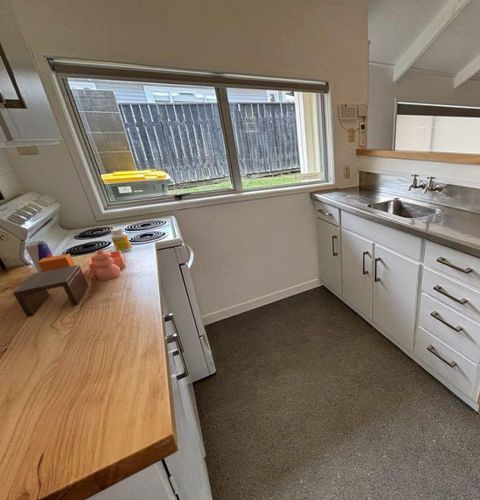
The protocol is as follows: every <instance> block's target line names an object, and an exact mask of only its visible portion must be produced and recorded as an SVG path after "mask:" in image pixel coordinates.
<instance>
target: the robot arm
mask: <svg viewBox="0 0 480 500" xmlns="http://www.w3.org/2000/svg"><path fill="white" fill-rule="evenodd" d="M5 200H6V197H5V196H4V194H3V192H2V190H1V189H0V201H5Z"/></svg>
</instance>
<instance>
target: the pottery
mask: <svg viewBox="0 0 480 500" xmlns="http://www.w3.org/2000/svg"><path fill="white" fill-rule="evenodd" d="M124 261H125V258H124V256H123V252H121V250H119V251H116V250H115V251H110V252H108V251H104V249H98V250H96V253H95V254H94V255H92V256H89V258H88V267H89V269H90V272H91V274H92V275H93V276H96V277H97V278H98V279H99V280H100V281H108V280H112V279H115V278H117V277H119V276H120V275H121V269H123V268H126V262H124Z"/></svg>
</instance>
